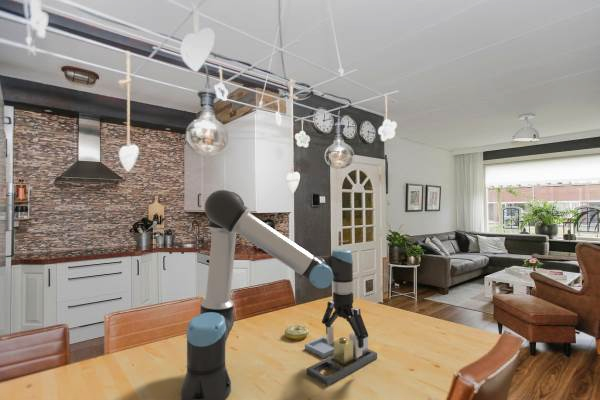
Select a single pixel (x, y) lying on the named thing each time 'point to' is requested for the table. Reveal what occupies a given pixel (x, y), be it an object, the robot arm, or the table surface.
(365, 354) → the grey knobbed block
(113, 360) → the table surface
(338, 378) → the rail
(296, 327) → the decorated donut
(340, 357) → the gold block with knob
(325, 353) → the parts tray
